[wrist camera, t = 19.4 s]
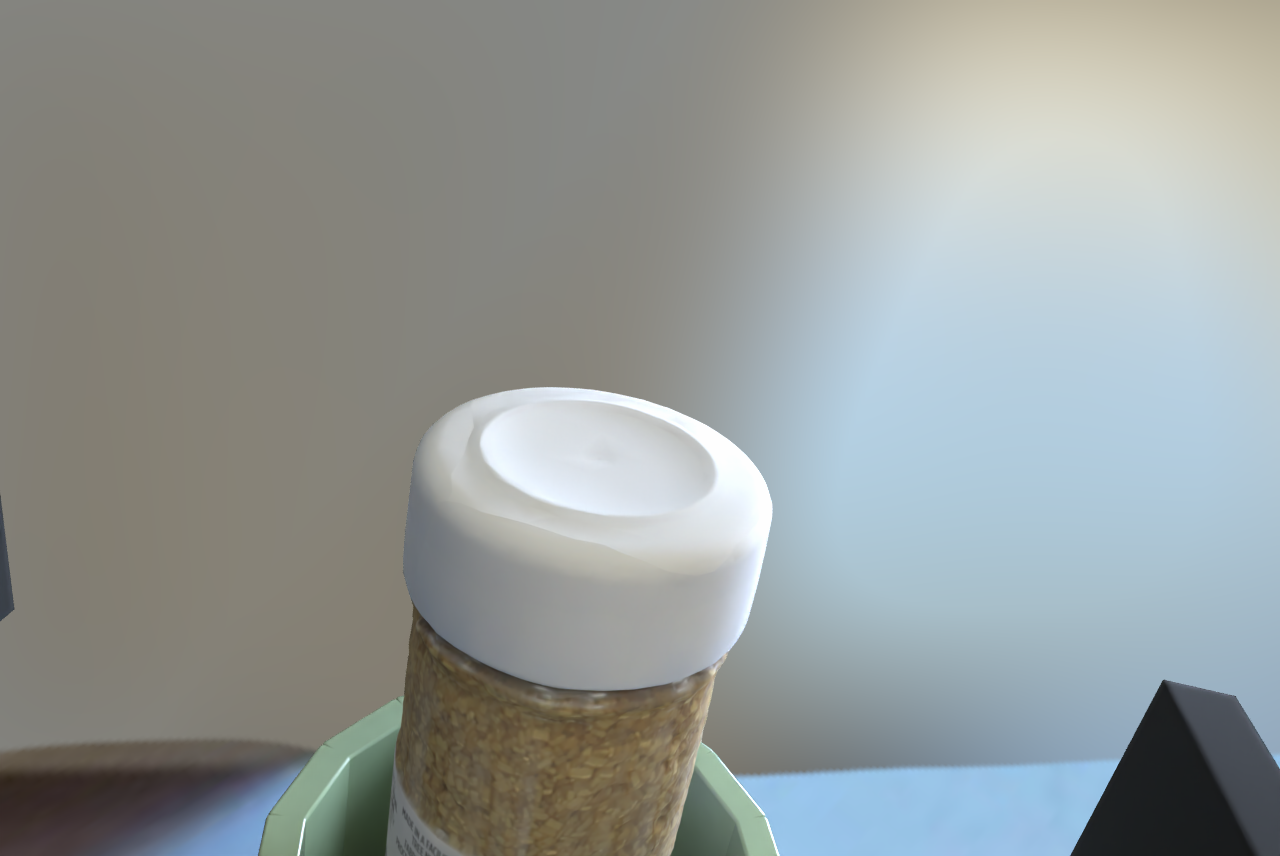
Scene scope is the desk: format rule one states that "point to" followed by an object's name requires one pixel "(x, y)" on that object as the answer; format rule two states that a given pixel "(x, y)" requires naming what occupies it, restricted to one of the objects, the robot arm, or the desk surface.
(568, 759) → the sprinkles bottle
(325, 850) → the holder
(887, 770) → the desk surface
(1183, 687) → the robot arm
